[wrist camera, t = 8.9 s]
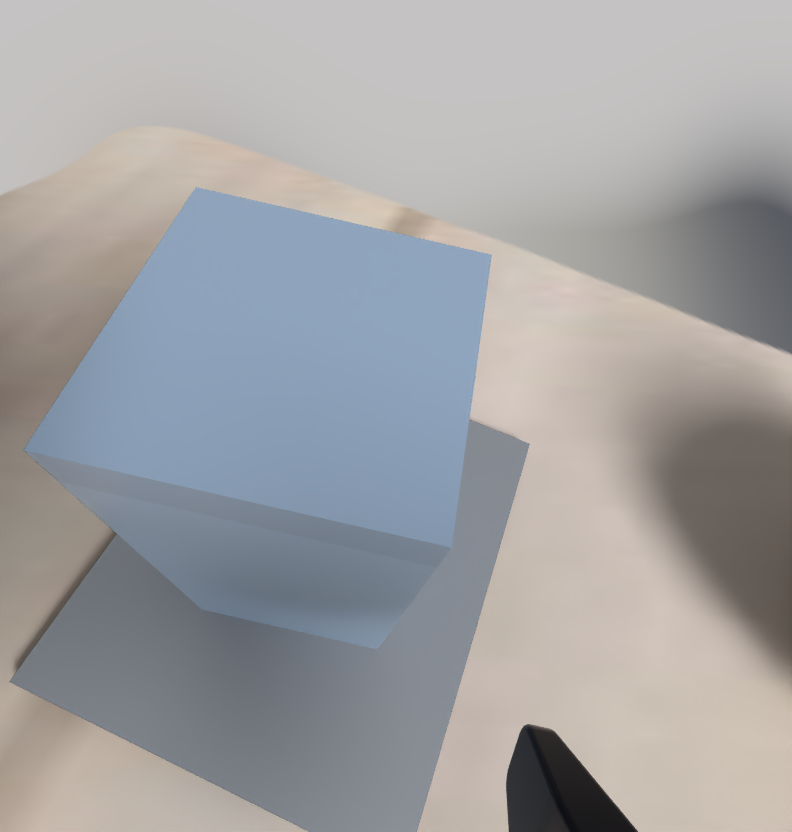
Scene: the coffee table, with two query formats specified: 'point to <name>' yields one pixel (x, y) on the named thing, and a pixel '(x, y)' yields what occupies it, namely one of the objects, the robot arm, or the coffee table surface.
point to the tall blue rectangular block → (280, 414)
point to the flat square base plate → (284, 675)
